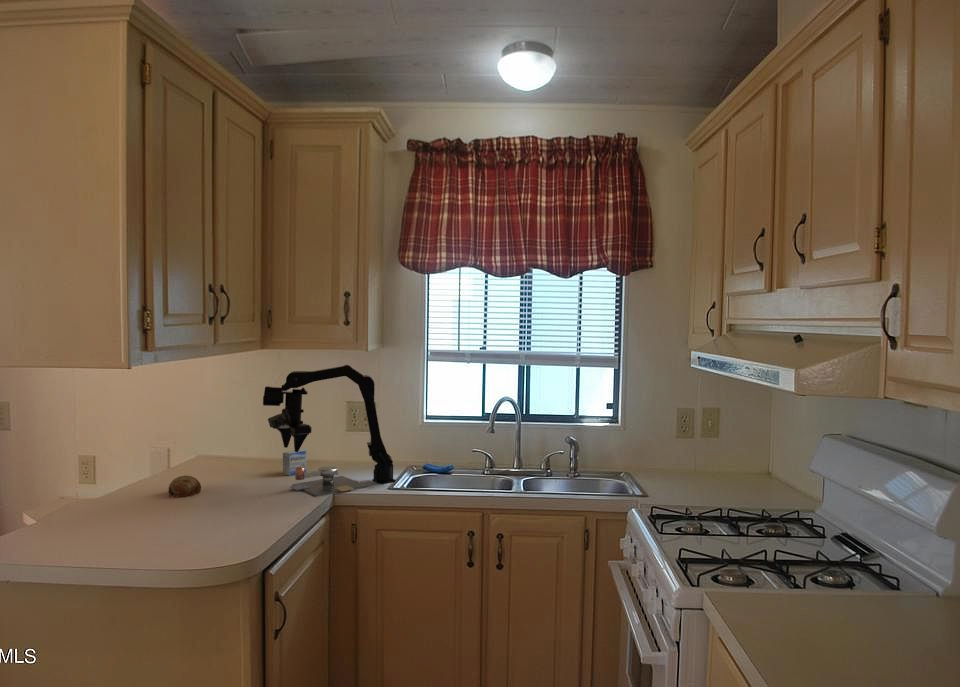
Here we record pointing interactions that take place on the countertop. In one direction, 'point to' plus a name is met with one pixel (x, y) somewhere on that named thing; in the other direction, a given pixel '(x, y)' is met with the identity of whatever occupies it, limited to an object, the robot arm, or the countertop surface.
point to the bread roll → (184, 486)
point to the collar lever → (315, 472)
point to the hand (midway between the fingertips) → (291, 449)
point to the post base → (328, 485)
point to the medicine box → (293, 461)
